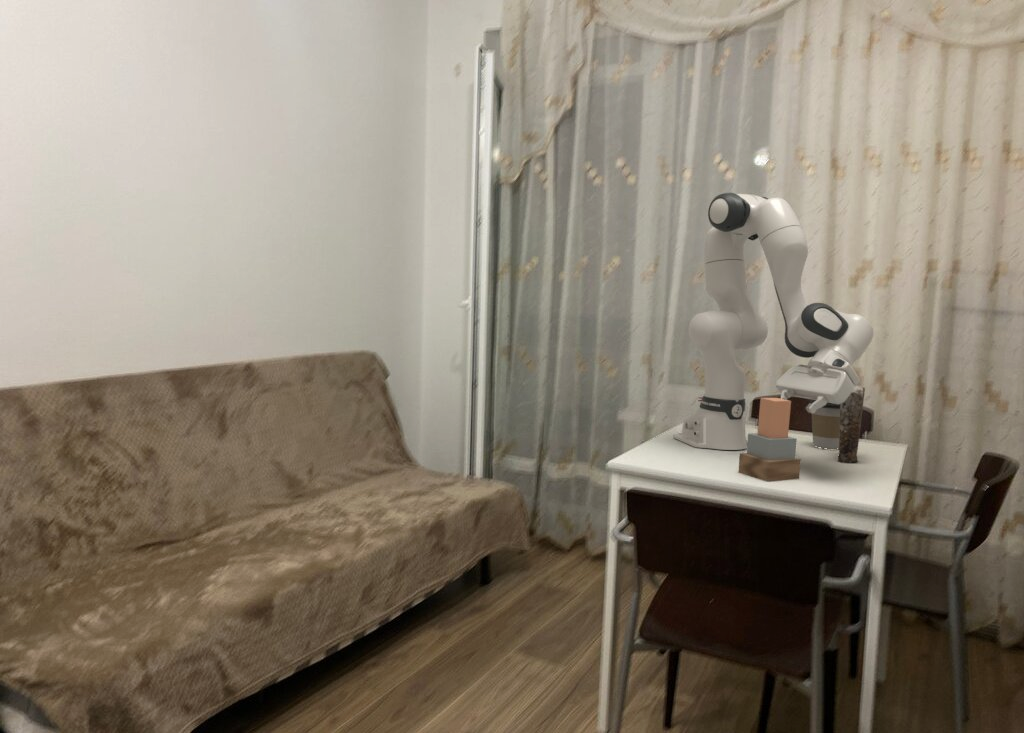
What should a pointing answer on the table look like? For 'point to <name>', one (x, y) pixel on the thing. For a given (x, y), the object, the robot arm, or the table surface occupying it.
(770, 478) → the tower base
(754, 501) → the table surface
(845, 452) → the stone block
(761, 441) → the tower top
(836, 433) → the coffee cup
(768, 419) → the terracotta block
